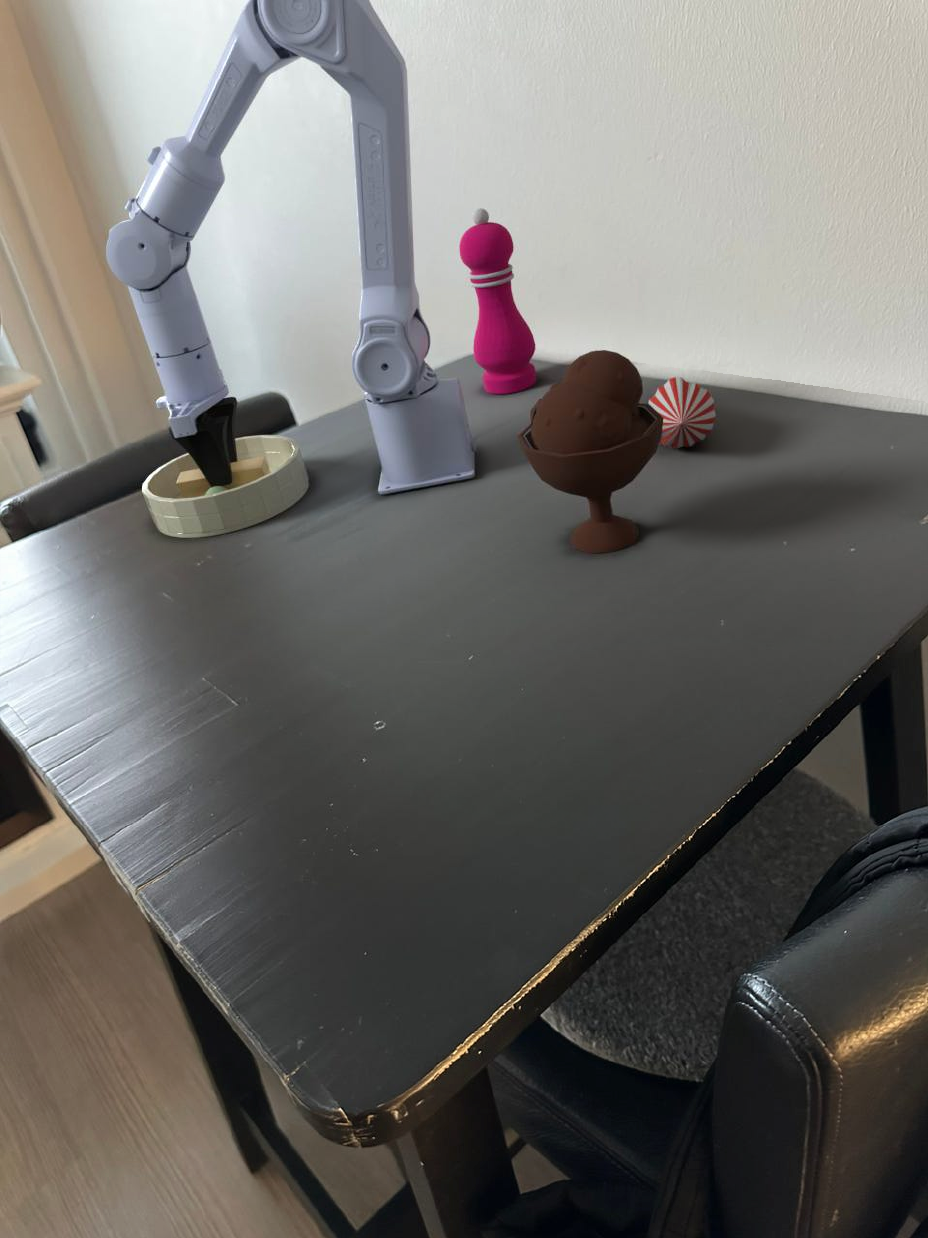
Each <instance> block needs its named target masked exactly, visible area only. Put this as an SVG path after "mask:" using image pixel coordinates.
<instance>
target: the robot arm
mask: <svg viewBox="0 0 928 1238" xmlns="http://www.w3.org/2000/svg"><path fill="white" fill-rule="evenodd" d="M301 58H304V59H306V60H309V61H310V62H312V63H313V64H316V65H317V66H320V69H322V70H323V71H324V72H325V73H326V74H327V75H328V76H329V77H330V78H332V80H334V82H336V83H337V84H338V85H339V86H340V87H341V88H342V89H343V90H345V92H346V93H347V94H348V96H349V103H350V119H351V134H352V151H353V165H354V166H353V167H354V179H355V180H354V183H355V184H354V185H355V198H356V199H355V200H356V201H355V202H356V213H357V214H356V215H357V231H358V232H357V233H358V246H359V247H358V248H359V249H358V250H359V262H360V263H359V264H360V278H361V279H360V280H361V281H360V282H361V297H360V305H359V317H358V326H359V335H358V338H357V339H358V340H357V342H356V344H355V347H354V349H353V351H352V355H351V361H350V362H351V363H350V364H351V365H350V367H351V372H352V375H353V377H354V379H355V382H356V383H357V385H358V386H359V387H360V388H361V389H362V393H363V397H364V401H365V405H366V409H367V410H366V411H367V414H368V417H369V421H370V426H371V430H372V434H373V437H374V441H375V445H376V449H377V453H378V458H379V462H380V465H381V471H380V472H381V473H380V478H379V484H378V489H377V492H378V494H379V495H387V494H393V493H398V492H403V491H410V490H414V489H420V488H427V487H431V486H435V485H442V484H447V483H453V482H459V481H464V480H469V479H473V478H475V476H476V471H475V470H476V468H475V467H476V466H475V464H476V463H475V452H476V451H477V448H476V442H475V438H474V437H475V436H474V434H473V432H471V428H470V424H469V419H468V413H467V408H466V403H465V399H464V393H463V389H462V385H461V382H460V379H459V378H457V377H456V378H455V377H454V378H446V379H445V378H444V379H443V378H438V375H437V372H436V371H434V369H433V368H432V367H431V366H430V365H429V363H427V362H426V360H425V359H426V358H427V356H428V355H429V352H430V348H431V334H430V329H429V327H428V325H427V323H426V322H425V320H424V317H423V315H422V313H421V306H420V294H419V291H418V288H417V285H416V281H415V280H416V279H415V278H416V277H415V255H414V254H415V253H414V249H415V248H414V227H413V226H414V225H413V224H414V223H413V197H412V196H413V195H412V194H413V193H412V168H411V167H412V165H411V143H410V139H411V138H410V115H409V112H410V111H409V86H408V69H407V65H406V60H405V58H404V56H403V55H402V53H401V51H400V50H399V47H397V44H396V43H395V41H394V40H393V39H392V36H391V35H390V33H389V31H388V30H387V28H386V27H385V25H384V24H383V21H382V20H381V18H380V17H379V15H378V14H377V12H376V10H375V9H374V7H373V5H372V3H371V1H370V0H248V2H246V4H245V5H244V7H243V9H242V10H241V13H240V15H239V16H238V19H237V21H236V24H235V25H234V28H233V30H232V32H231V34H230V37H229V38H228V41H227V43H226V45H225V48H224V50H223V52H222V54H221V57H220V59H219V61H218V63H217V65H216V68H215V70H214V71H213V74H212V75H211V76H212V77H211V79H210V80H209V83H208V84H207V87H206V90H205V92H204V94H203V96H202V98H201V100H200V102H199V105H198V107H197V110H196V112H195V114H194V116H193V118H192V120H191V122H190V124H189V126H188V129H187V131H186V134H185V135H183V136H176V137H170V138H167V139H165V141H164V142H163V143H162V146H161V147H160V146H155V147H153V148H152V149H151V150H150V152H149V154H148V156H147V158H146V161H147V163H149V164H150V165H152V166H151V167H150V170H149V172H148V173H147V175H146V177H145V179H144V181H143V183H142V185H141V187H140V190H139V191H138V193H137V195H136V198H135V197H132V198H129V200H128V201H127V202H126V205H125V206H124V209H125V211H127V212H128V215H129V216H128V217H129V218H130V219H126V220H123V221H121V222H118V223H117V224H115V225H114V226H112V227H111V228H110V229H109V232H108V239H107V241H106V246H105V256H106V261H107V264H108V266H109V269H110V271H111V272H112V273H113V275H114V276H115V277H116V278H117V280H119V281H120V282H121V283H123V284H124V285H125V286H127V289H128V291H129V295H130V297H131V300H132V304H133V306H134V309H135V312H136V315H137V318H138V320H139V324H140V326H141V329H142V333H143V335H144V338H145V341H146V344H147V346H148V349H149V352H150V355H151V358H152V360H153V364H154V366H155V369H156V372H157V375H158V378H159V381H160V383H161V386H162V389H163V392H164V395H163V396H161V397H159V398H157V400H156V402H155V405H156V407H157V409H158V410H162V409H168V413H169V417H168V418H167V420H168V422H169V425H170V426H169V427H168V432H169V435H170V437H171V438H172V440H174V441H175V442H176V443H177V444H179V446H181V447H182V448H183V449H184V451H186V452H187V453H189V454H190V456H191V457H192V458H193V460H194V461H195V463H196V464H197V466H198V467H199V469H200V470H201V472H202V474H203V475H204V477H205V478H206V480H207V481H208V483H209V484H210V486H211V487H215V486H225V485H230V484H231V483H232V470H231V465H230V463H233V462H238V460H237V451H236V442H235V439H236V414H237V409H238V400H237V397H235V396H228V395H229V393H230V390H229V387H228V384H227V382H226V380H225V377H224V374H223V371H222V369H221V368H220V365H219V363H218V359H217V356H216V353H215V350H214V346H213V343H212V340H211V337H210V335H209V331H208V328H207V325H206V322H205V319H204V315H203V313H202V309H201V306H200V303H199V300H198V296H197V294H196V291H195V289H194V285H193V282H192V280H191V276H190V273H189V270H188V267H187V266H188V263H189V261H190V259H191V252H192V245H191V242H192V241H193V240H194V238H195V236H196V235H197V233H198V231H199V230H200V228H201V225H202V223H203V222H204V220H205V218H206V217H207V215H208V213H209V211H210V209H211V207H212V206H213V204H214V202H215V200H216V198H217V197H218V194H219V192H220V191H221V189H222V187H223V186H224V184H225V182H226V175H225V172H224V167H223V162H222V155H223V152H224V151H225V149H226V148H227V146H228V144H229V142H230V141H231V139H232V138H233V136H234V134H235V132H236V130H237V129H238V128H239V126H240V124H241V122H242V121H243V119H244V117H245V116H246V114H247V112H248V110H249V109H250V107H251V106H252V104H253V102H254V100H255V99H256V97H257V95H258V94H259V91H260V90H261V88H262V86H263V85H264V83H265V82H266V80H267V78H268V77H269V76H270V75H272V74H273V73H275V72H278V71H279V70H281V69H282V68H284V67H286V66H288V65H289V64H292V63H294V62H295V61H297V60H299V59H301Z"/></svg>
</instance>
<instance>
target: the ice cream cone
mask: <svg viewBox="0 0 928 1238" xmlns="http://www.w3.org/2000/svg"><path fill="white" fill-rule="evenodd" d="M648 404H649V405H651V406H652V407H653V408H654V409H655V410H656V411H657V412H658V413H659V414H660V415H661V416H662V417H663V428H662V437H661V439H660V442H661V444H662V445H663V446H664V447H665V446H666V447H671V448H674V449H680V448H682V447H683V448H684V447H686V448H690V447H692V446H693V445H695V444H696V443H697V442H701V441H704V440H705V438H706V436H707V435H708V434H710V433H711V431H712V430H713V428H714V424H715V420H716V417H717V415H716V411H715V399H714V398H713V397H712V395H711V393H710V391H709V390H708V389H705V388H703V387H701V386H700V385H699V384H698V383H696V382H690V381H686V380H685V379H684V378H683V377H681V376H675V377H670V378H669V379H668V380H667V381H666V383H664V384H663V385H660V386H659V387H657V390H656V392H655V393H654V394H653V396H652V397H650V398H649V399H648Z"/></svg>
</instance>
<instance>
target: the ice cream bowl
mask: <svg viewBox="0 0 928 1238" xmlns="http://www.w3.org/2000/svg"><path fill="white" fill-rule="evenodd" d="M643 390H644V387H643V379H642V377H641V375H640V372H639V370H638V368H637V367H636V366H635V365H634V363H633V362H632V361H631V360H630V359H629V358H627V357H626V356H624V355H622V354H620V353H619V352H616V351H612V350H607V349H601V350H597V349H596V350H591V351H589V352H586V353H584V354H582V355H580V356H578V357H577V358H576V359H574V361H573V362H571V363H570V364H569V365H568V367H567V368H566V370H565V372H564V374H563V375H562V378H561V381H558V382H554V383H553V384H552V385H551V386H550V388H549V390H548V391H546V393H544V395H543V396H542V397H541V398H538V400H537V402H536V403H535V404H534V406H533V407H531V409H529V410H530V411H529V412H530V423H529V425H528V426H527V427H526V428H525V429H523V431H521V432H520V433H519V434H518V435H517V439H518V442H519V444H520V447H521V449H522V451H523V454H524V455H525V457H526V459H527V461H528V463H529V465H530V466H531V468H532V469H533V471H534V472H535V474H536V475H537V476H538V477H539V479H540V480H541V481H542V482H544V483H545V484H547V485H549V487H551V488H553V489H554V490H556V491H560V492H563V493H565V494H568V495H573V496H577V497H583V498H586V500H587V502H588V506H589V514H590V515H589V518H587V519H586V520H584V521H583V522H582V523H580V524H579V525H578V526H577V527H576V528H575V529H574V531H572V533H571V535H570V543H571V544H572V546H573V547H574V549H575V550H577V551H581V552H583V553H588V554H602V553H612V552H616V551H619V550H621V549H624V548H626V547H628V546H630V545H633V544H634V542H635V541H636V539H637V538H638V536H639V535H640V532H639V530H638V527H637V526H636V525H635V523H634V521H632V519H629V518H626V517H622V516H619V515H615V514H614V512H613V508H612V502H611V501H612V500H611V498H612V494H613V493H614V492H617V491H619V490H621V489H624V488H625V487H626V486H628V485H629V484H631V483H632V482H633V481H635V479H636V478H637V477H638V475H639V474H640V473H641V472H642V471H643V469H645V467H646V465H647V464H648V463H649V462H650V460H651V459H652V458H653V457H654V455H655V454H656V453H657V450H658V447H659V444H660V442H661V441H660V439H661V437H662V428H663V417H662V416H661V415H660V414H659V413H658V412H657V411H656V410H655V409H654V408H653V407H652V406H651V405H649V403H641V402H640V400H641V398H642V396H643V394H644V391H643Z"/></svg>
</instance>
